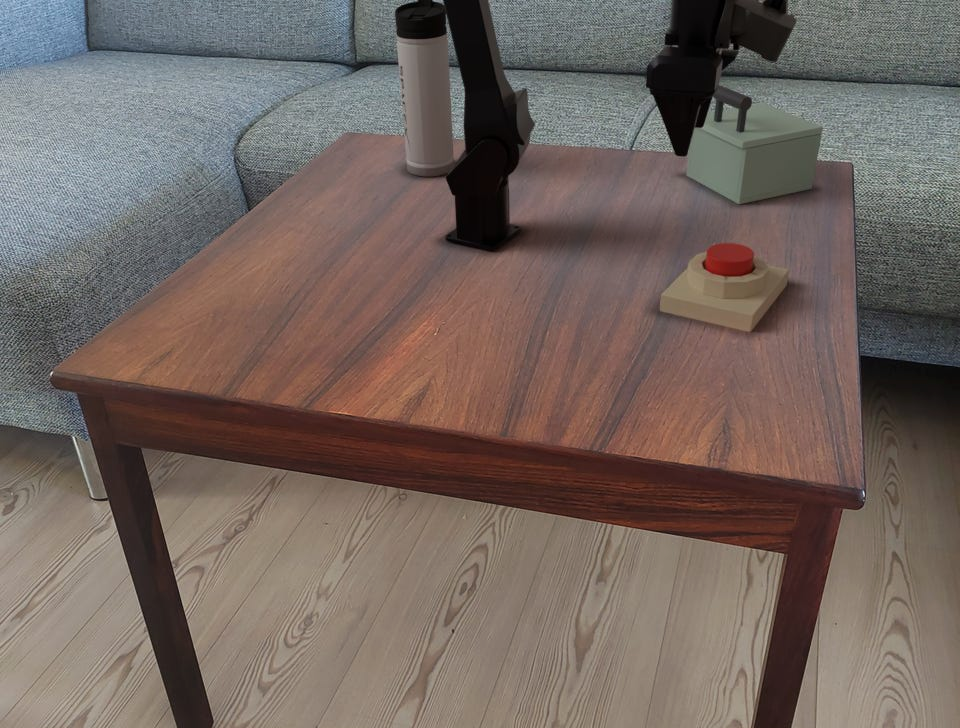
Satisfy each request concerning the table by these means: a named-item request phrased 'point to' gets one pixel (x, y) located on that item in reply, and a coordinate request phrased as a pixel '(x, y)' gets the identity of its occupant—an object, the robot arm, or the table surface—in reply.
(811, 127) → the lid
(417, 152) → the travel mug
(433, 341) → the table surface
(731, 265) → the power button
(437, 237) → the table surface
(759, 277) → the control block
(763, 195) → the green lidded box
